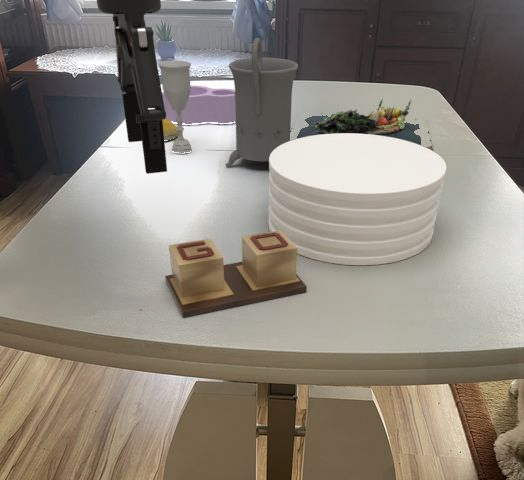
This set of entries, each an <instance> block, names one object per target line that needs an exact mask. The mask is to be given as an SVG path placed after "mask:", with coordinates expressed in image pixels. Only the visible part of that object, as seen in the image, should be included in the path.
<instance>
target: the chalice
mask: <svg viewBox="0 0 524 480" xmlns="http://www.w3.org/2000/svg"><path fill="white" fill-rule="evenodd" d="M191 65H192V62H190V61H186V60H164V61H160V62H158V63H157V67H158V68H159V70H160V75H161V85H162V86H161V88H162V92H164V94H165V96H166V98H167V100H168V102H169V104H170V106H171V108H172V109H173V110H175V111H176V113H177V119H176V121H177V123H178V125H177V128H176V129H177V130H178V133H179V136H178V137H177V138H175V139H174V141H173V142H172V143H173V144H172V146H171V150H172V151H174V152H179V153H184V152H185V153H186V152H190V151H192V149H193V148H192V145H191V143H190V140H188V139H187V138H185V137H184V135H183V132H184V130H185V128H184V126H182V121H183V119H182V117H181V111H182V110H184V109H185V107H186V104H187V101H188V98H189V94H190V89H191V86H190V85H191V76H190V75H191V73H190V68H191Z"/></svg>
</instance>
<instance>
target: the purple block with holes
mask: <svg viewBox="0 0 524 480" xmlns="http://www.w3.org/2000/svg"><path fill="white" fill-rule="evenodd" d="M190 86H191V89H190V94H189V98H188V101H187V104H186V107H185V109H184V110H182V111H181V117H182V119H183V121H182V123H185V124H192V123H202V122H218V123H229V122H234V121H236V108H235V89H234V88H212V87H209V86H204V85H193V84H190ZM162 96H163V102H164V108H165V111H166V119H168V120H170V121H173V122H177V121H176V119H177V113H176V111H175V110H173V109H172V108H171V106H170V104H169V102H168V100H167V98H166V96H165V94H164V91H162Z"/></svg>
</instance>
